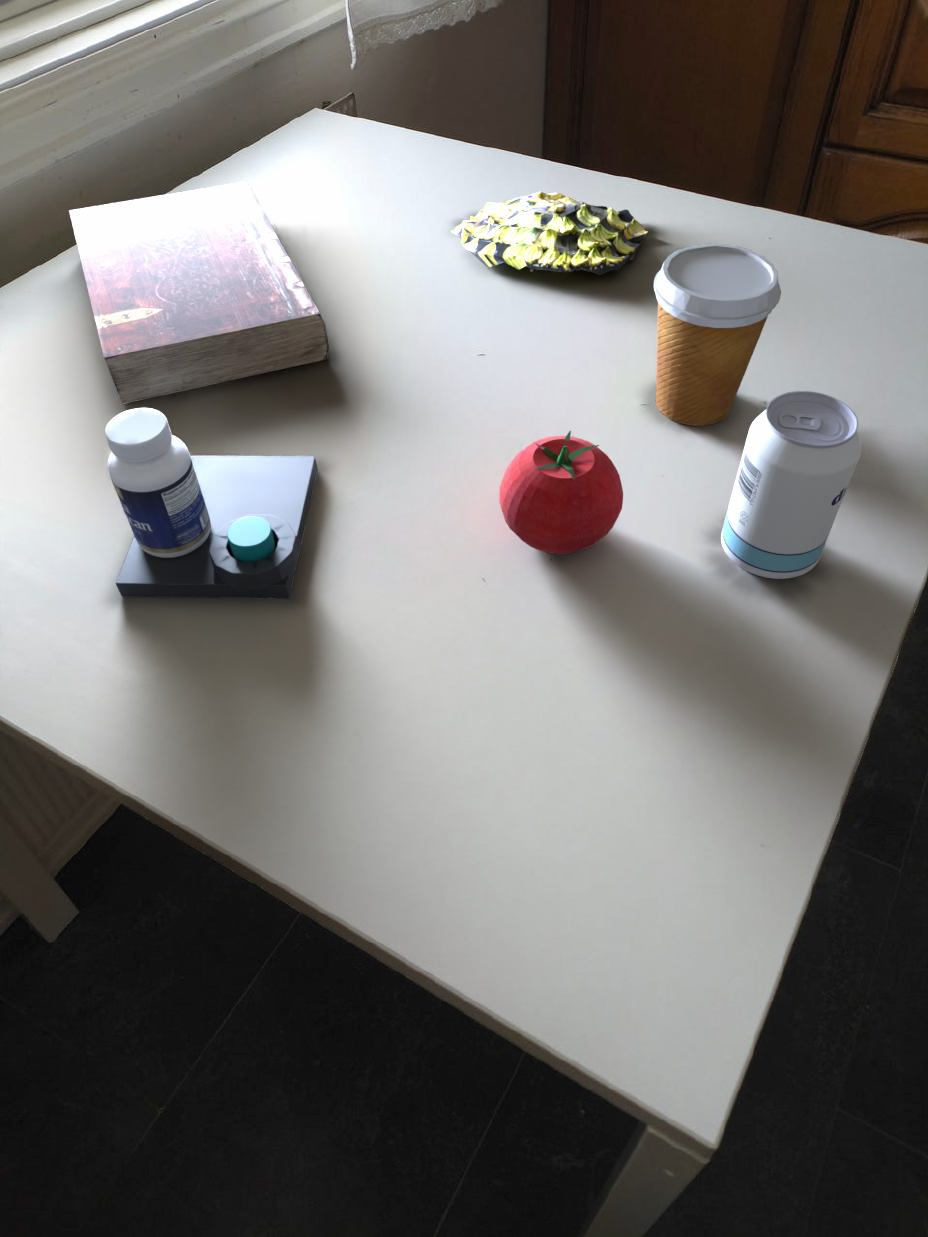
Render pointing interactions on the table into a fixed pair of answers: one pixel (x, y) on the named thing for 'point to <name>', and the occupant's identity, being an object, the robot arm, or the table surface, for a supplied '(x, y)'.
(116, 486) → the pill bottle
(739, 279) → the disposable coffee cup
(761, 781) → the table surface
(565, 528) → the tomato
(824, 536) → the beverage can
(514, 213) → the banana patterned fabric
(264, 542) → the button
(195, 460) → the scale
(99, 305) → the hardback book
